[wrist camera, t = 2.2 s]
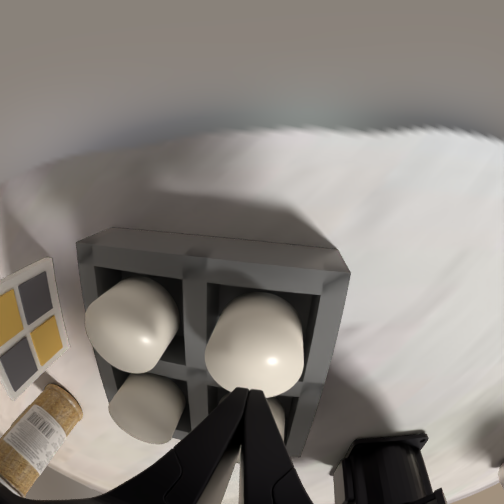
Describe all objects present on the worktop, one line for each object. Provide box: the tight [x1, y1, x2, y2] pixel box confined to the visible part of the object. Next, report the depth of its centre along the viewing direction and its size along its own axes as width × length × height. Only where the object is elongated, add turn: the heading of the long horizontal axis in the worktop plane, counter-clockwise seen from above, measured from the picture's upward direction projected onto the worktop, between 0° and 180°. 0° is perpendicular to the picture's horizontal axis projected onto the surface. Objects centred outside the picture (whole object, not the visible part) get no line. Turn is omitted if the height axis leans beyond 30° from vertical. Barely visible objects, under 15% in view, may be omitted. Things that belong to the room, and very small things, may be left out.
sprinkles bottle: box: [0, 384, 83, 498], centre depth 14 cm, size 5×5×14 cm
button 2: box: [205, 292, 304, 398], centre depth 11 cm, size 4×4×2 cm
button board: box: [76, 227, 351, 457], centre depth 14 cm, size 12×12×3 cm
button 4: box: [85, 276, 180, 373], centre depth 12 cm, size 4×4×2 cm
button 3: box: [108, 372, 186, 444], centre depth 13 cm, size 4×4×2 cm
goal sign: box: [0, 257, 70, 401], centre depth 14 cm, size 1×7×7 cm, turn 176°
